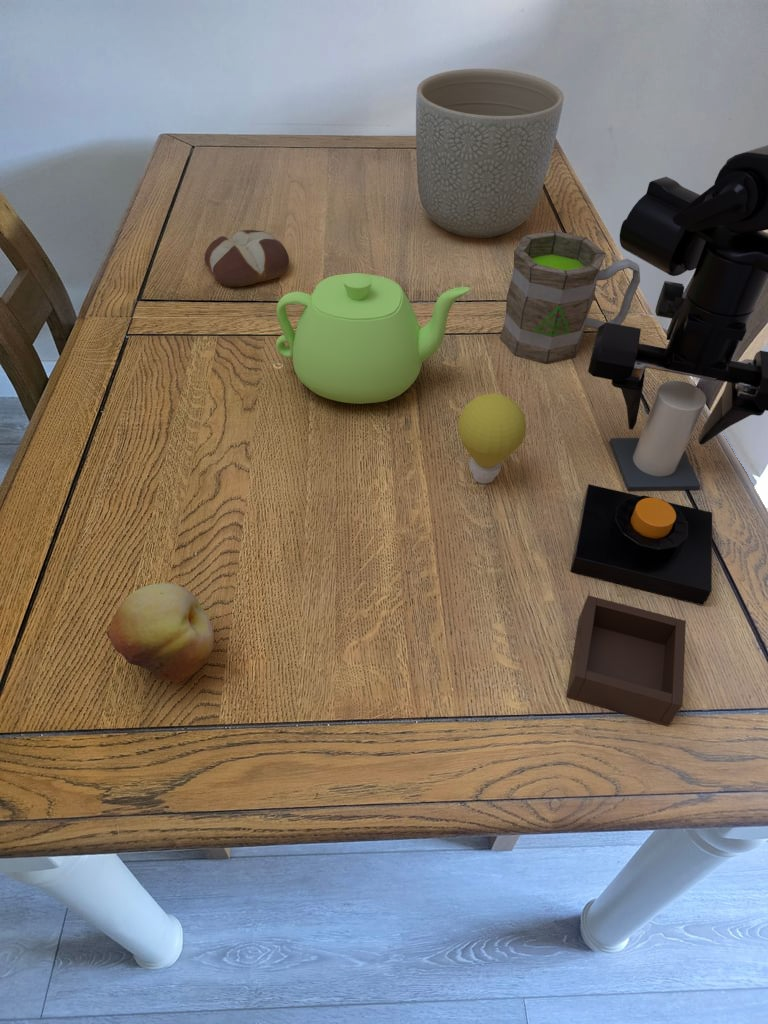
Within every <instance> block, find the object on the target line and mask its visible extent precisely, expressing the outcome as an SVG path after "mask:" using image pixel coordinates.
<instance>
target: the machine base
mask: <svg viewBox="0 0 768 1024" xmlns="http://www.w3.org/2000/svg"><path fill="white" fill-rule="evenodd" d="M645 498H654V497H653V496H648V495H638V494H633V493H629V492H624V491H619V490H617V489H611V488H607V487H603V486H598V485H594V484H590V483H589V484H588V485H587V487H586V490H585V493H584V496H583V500H582V505H581V510H580V511H581V512H580V516H579V520H578V521H579V522H578V526H577V531H576V532H577V533H576V536H575V537H576V538H575V543H574V548H573V549H574V550H573V554H572V559H571V566H570V573H574V574H578V575H581V576H586V577H590V578H594V579H598V580H602V581H606V582H609V583H613V584H618V585H621V586H625V587H629V588H633V589H636V590H641V591H645V592H649V593H651V594H656V595H661V596H664V597H668V598H672V599H675V600H676V599H677V600H681V601H684V602H688V603H693V604H696V605H699V606H703V605H705V603H706V602H707V600H708V598H709V596H710V594H711V593H712V587H713V585H712V583H713V582H712V579H713V577H712V575H713V573H712V572H713V566H712V565H713V512H712V511H708V510H703V509H699V508H696V507H695V508H694V507H691V506H686V505H681V504H677V503H673V502H670V501H669V502H668V501H666V500H664V499H662V498H660V499H661V500H663V501H665V502H667V503H668V504H670V505H671V506H672V507H673V509H674V510H675V513H676V520H675V522H674V524H673V526H672V528H671V530H670V532H669V534H668V535H667V536H665V537H663V538H659V539H653V538H649V537H645V536H643V535H641V534H640V533H638V532H637V531H635V529H634V528H633V527H632V524H631V517H632V514H633V512H634V509H635V507H636V505H637V503H638V502H639V501H640V500H642V499H645ZM656 498H657V499H659V498H658V497H656Z"/></svg>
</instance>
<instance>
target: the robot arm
mask: <svg viewBox="0 0 768 1024" xmlns="http://www.w3.org/2000/svg"><path fill="white" fill-rule="evenodd" d="M621 223H622V224H621V226H620V230H619V244H620V246H621V248H622V249H623V250H624V251H626V252H628V253H630V254H631V255H633V256H635V257H637V258H638V259H640V260H642V261H644V262H645V263H647V264H649V265H650V266H653V267H655V268H656V269H658V270H660V271H662V272H663V273H665V274H667V275H669V276H671V277H677V276H680V275H682V274H684V273H686V272H687V271H689V272H690V271H693V270H694V272H693V276H692V278H691V281H690V283H689V286H688V288H687V292H686V291H685V286H684V284H683V283H680V282H674V281H669V280H668V281H667V280H664V282H663V285H662V287H661V290H660V293H659V296H658V300H657V303H656V306H655V310H654V311H655V315H656V317H659V318H660V317H661V318H666V319H671V321H670V323H669V326H668V330H667V332H666V341H668V343H667V346H666V348H665V347H660V346H655V345H651V344H650V345H649V344H644V343H640V337H641V332H642V328H641V327H640V328H639V327H634V326H629V325H623V324H621V325H618V324H613V323H607V322H608V321H605V322H606V323H604V324H603V325H601V326H600V327H599V328H598V329H597V331H596V333H595V334H596V335H595V338H594V342H593V346H592V350H591V354H590V355H591V356H590V360H589V365H588V370H587V373H589V374H590V375H591V377H595V378H599V379H600V378H601V379H605V380H610V382H611V385H612V387H614V388H616V389H620V390H621V393H622V396H623V399H624V402H625V406H626V413H627V422H628V423H627V425H628V430H631V431H632V430H634V428H635V426H636V423H637V421H638V416H639V412H640V411H639V410H640V405H641V399H642V394H643V390H644V382H645V374H646V369H651V370H655V371H660V372H666V373H671V374H676V375H677V374H678V375H682V376H687V377H692V378H697V379H702V380H707V381H712V382H716V381H721V382H725V383H726V384H725V387H724V390H723V392H722V394H721V396H720V397H719V398H718V400H717V402H716V404H715V406H714V407H713V409H712V410H711V413H710V414H709V416H708V417H707V419H706V421H705V423H704V425H703V427H702V428H701V429H702V430H701V432H700V434H699V437H698V444H699V445H705V444H707V443H708V442H709V441H710V440H712V439H714V438H715V437H717V435H719V434H720V433H722V432H723V431H725V430H726V429H728V428H729V427H731V426H733V425H735V424H737V423H739V422H741V421H743V420H745V419H747V418H748V417H750V416H757V417H760V416H762V415H763V414H765V412H768V351H765V350H759V351H757V352H756V353H755V355H754V357H753V359H749V358H745V359H742V361H739V360H733V358H734V356H735V353H736V352H737V349H738V347H739V345H740V343H741V342H742V341H743V340H744V338H745V335H746V333H747V327H748V324H749V323H750V320H751V318H752V316H753V314H754V312H755V310H756V307H757V305H758V302H759V301H760V298H761V296H762V294H763V292H764V289H765V287H766V285H767V284H768V232H766V231H768V144H767V145H763V146H760V147H757V148H753V149H750V150H747V151H744V152H741V153H737V154H735V155H733V156H732V157H730V158H728V159H727V160H726V162H725V163H724V165H723V166H722V167H721V168H720V169H719V172H718V173H717V175H716V178H715V180H714V184H713V185H712V186H710V187H709V188H707V189H706V190H705V191H703V193H701V194H699V193H697V192H695V191H692V190H690V189H688V188H686V187H684V186H682V185H681V184H680V183H679V182H678V181H676V179H675V180H674V179H673V178H670V177H668V176H664V177H660V178H657V179H654V180H651V181H649V182H648V186H647V189H646V193H645V194H644V195H643V196H642V197H641V198H639V199H638V200H637V202H636V203H635V204H634V205H633V207H632V208H631V210H630V211H629V213H628V214H627V217H626V219H624V220H623V221H622V222H621ZM684 291H685V292H684Z"/></svg>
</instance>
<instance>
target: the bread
mask: <svg viewBox="0 0 768 1024" xmlns="http://www.w3.org/2000/svg"><path fill="white" fill-rule="evenodd" d="M204 263H205V265H206V268H207V269H208V270H209V271H210V272H211V273H212V275H213V277H214V278H215V279H216V280H217V281H218V282H219V283H221V284H222V285H224V286H227V287H235V288H236V287H237V288H238V287H239V288H240V287H246V286H251V285H254V284H258V283H262V282H266V281H270V280H274V279H277V278H280V277H283V275H284V274H285V273H286V272H287V270H288V268H289V264H290V257H289V253H288V250H287V249H286V248H285V246H284V245H283V243H282V242H281V241H279V240H277V239H276V237H275V236H274V235H272V233H269V232H267V231H263V230H254V229H242V230H238V231H237V232H235V234H234V235H233V236H232V238H230V237H228V236H225V235H221V236H219V237H217V238H216V239H215V240H213V241H212V242H211V243H210V244H209V245H208V247H207V248H206V250H205V253H204Z"/></svg>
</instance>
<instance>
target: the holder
mask: <svg viewBox="0 0 768 1024" xmlns="http://www.w3.org/2000/svg"><path fill="white" fill-rule="evenodd" d="M577 621H578V622H577V628H576V633H575V639H574V645H573V651H572V652H573V653H572V657H571V658H572V659H571V665H570V670H569V676H568V684H567V689H566V694H565V697H566V698H567V699H571V700H575V701H578V702H582V703H586V704H589V705H592V706H596V707H599V708H603V709H607V710H609V711H613V712H617V713H619V714H623V715H627V716H631V717H634V718H637V719H641V720H644V721H648V722H652V723H654V724H657V725H661V726H665V727H669V726H670V725H671V723H672V722H673V720H674V719H675V717H676V716H677V714H678V713H679V711H680V710H681V709H682V707H683V705H684V704H683V703H684V682H685V681H684V679H685V677H684V676H685V653H686V652H685V651H686V627H687V621H686V620H684V619H680V618H676V617H673V616H669V615H666V614H662V613H658V612H654V611H650V610H647V609H642V608H639V607H635V606H631V605H627V604H622V603H619V602H615V601H611V600H607V599H603V598H601V597H596V596H593V595H587V596H586V599H585V601H584V604H583V607H582V609H581V611H580V615H579V616H578V620H577Z"/></svg>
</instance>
